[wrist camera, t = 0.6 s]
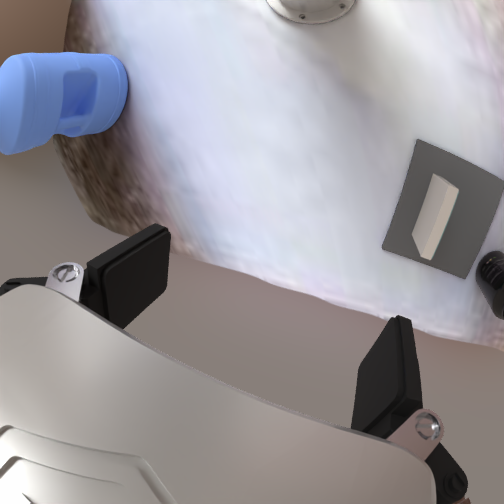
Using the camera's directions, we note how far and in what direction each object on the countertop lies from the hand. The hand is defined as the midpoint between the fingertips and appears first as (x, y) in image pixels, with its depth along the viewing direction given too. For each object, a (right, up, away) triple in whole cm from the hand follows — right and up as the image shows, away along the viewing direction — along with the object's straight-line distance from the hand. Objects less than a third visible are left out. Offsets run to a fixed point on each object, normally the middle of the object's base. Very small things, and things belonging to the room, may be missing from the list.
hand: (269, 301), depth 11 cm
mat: (+26, +7, +21) cm, 34 cm away
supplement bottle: (+36, -1, +22) cm, 42 cm away
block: (+23, +8, +22) cm, 32 cm away
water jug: (-29, +31, +31) cm, 52 cm away
